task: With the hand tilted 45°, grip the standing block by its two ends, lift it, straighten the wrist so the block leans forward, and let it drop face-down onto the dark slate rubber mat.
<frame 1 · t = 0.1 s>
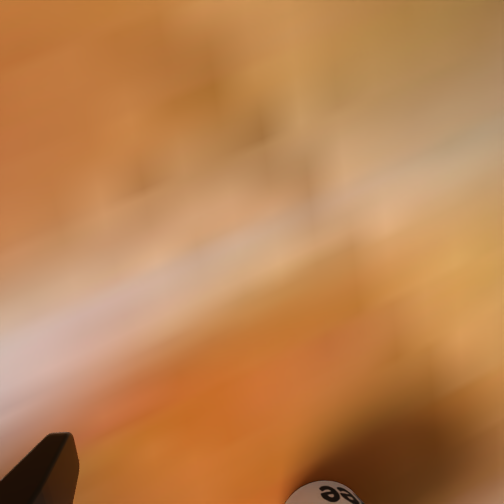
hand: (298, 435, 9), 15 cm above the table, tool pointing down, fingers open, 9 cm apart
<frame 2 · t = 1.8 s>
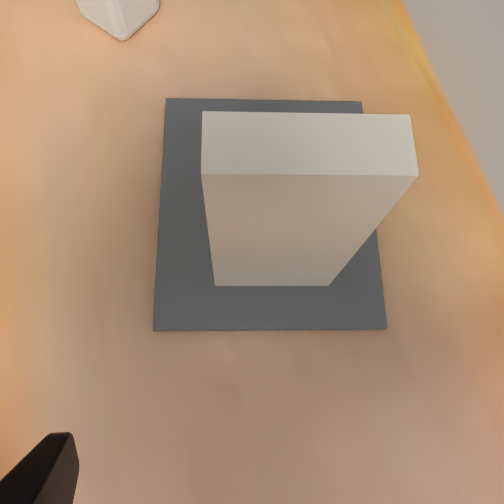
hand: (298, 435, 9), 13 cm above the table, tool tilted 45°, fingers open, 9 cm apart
mat: (267, 207, 25), on the table
block: (271, 267, 24), resting on mat
pepper shaker: (122, 16, 30), on the table
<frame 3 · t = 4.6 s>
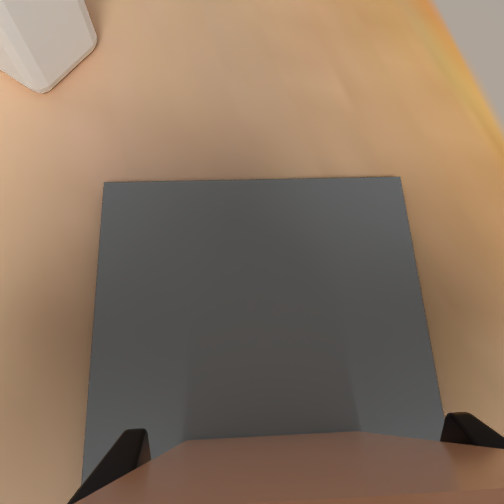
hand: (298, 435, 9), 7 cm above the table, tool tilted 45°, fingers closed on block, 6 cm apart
mat: (264, 357, 16), on the table
block: (274, 473, 14), resting on mat, touching gripper
pepper shaker: (44, 56, 20), on the table
when the fingers open (6 cm above the table, at t = 8.3 s): block drops 1 cm and tips over, resting on mat.
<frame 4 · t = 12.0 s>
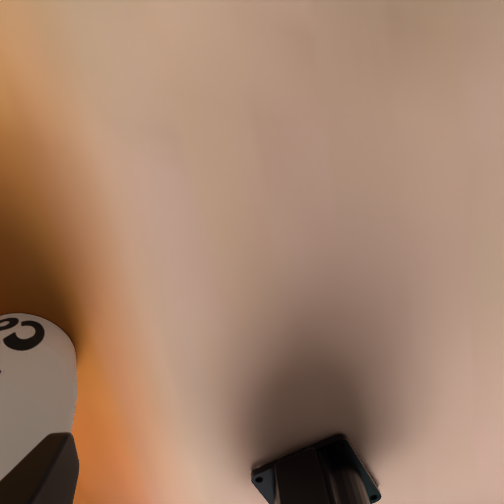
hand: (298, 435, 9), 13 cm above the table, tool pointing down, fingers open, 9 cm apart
cup: (28, 352, 23), on the table
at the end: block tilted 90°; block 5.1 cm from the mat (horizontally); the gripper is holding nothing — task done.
